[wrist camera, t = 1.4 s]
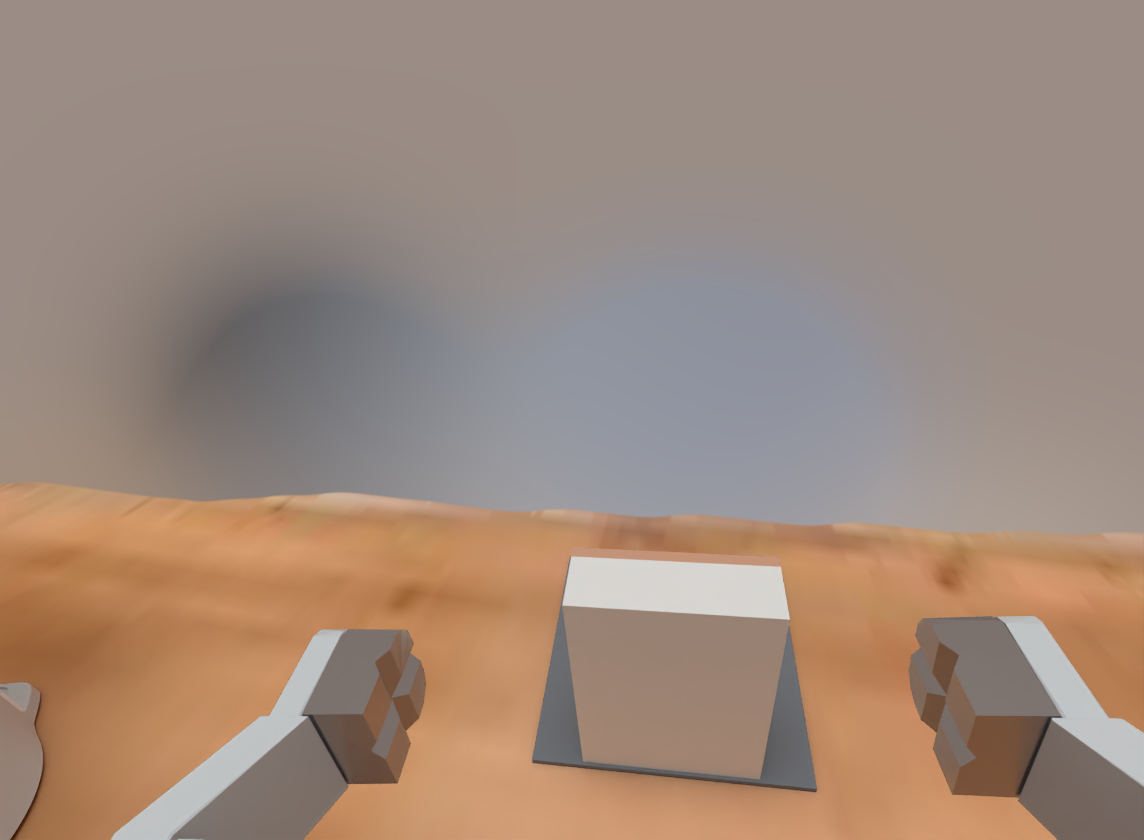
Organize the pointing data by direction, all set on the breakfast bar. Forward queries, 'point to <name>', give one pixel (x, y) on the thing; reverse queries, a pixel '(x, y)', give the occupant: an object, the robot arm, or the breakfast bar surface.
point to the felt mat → (780, 769)
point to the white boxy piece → (675, 657)
